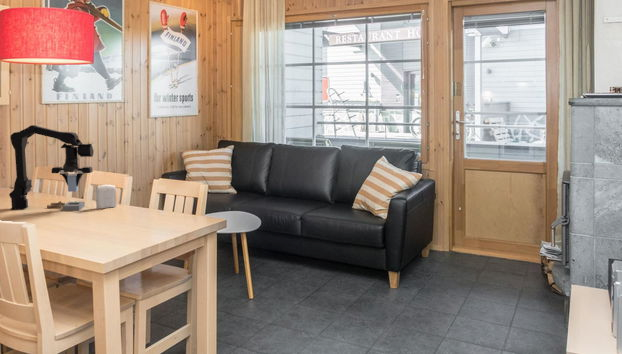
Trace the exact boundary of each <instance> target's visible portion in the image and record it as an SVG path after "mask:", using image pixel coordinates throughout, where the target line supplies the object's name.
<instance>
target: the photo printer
mask: <svg viewBox="0 0 622 354" xmlns="http://www.w3.org/2000/svg"><path fill="white" fill-rule="evenodd" d="M95 200H96V201H95V202H96V203H95V204H96V209H97V210H98V209H99V210H100V209H109V208H116V207H117V188H116V185H114V184H101V185H99V186H96V188H95Z"/></svg>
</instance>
